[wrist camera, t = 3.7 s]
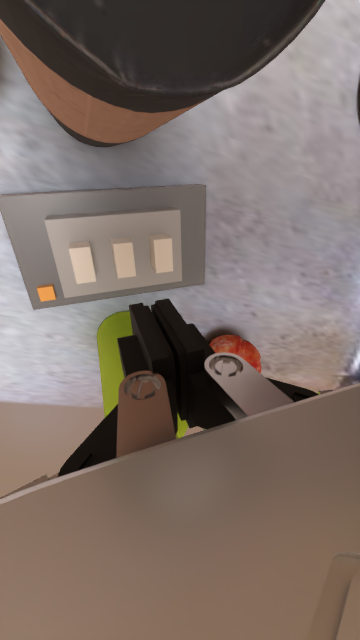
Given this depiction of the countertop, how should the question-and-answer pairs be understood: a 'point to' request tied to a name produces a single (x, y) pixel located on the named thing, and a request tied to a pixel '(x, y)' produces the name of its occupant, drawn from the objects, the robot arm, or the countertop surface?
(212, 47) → the travel mug
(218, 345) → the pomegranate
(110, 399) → the soap dispenser
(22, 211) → the breaker panel
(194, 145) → the countertop surface
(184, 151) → the countertop surface
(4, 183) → the countertop surface
